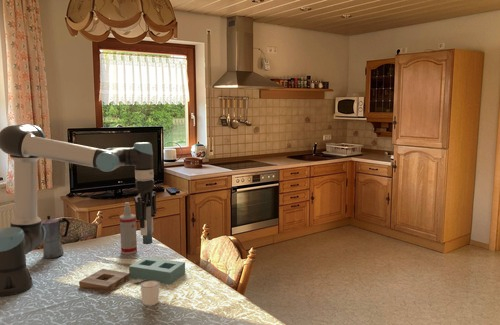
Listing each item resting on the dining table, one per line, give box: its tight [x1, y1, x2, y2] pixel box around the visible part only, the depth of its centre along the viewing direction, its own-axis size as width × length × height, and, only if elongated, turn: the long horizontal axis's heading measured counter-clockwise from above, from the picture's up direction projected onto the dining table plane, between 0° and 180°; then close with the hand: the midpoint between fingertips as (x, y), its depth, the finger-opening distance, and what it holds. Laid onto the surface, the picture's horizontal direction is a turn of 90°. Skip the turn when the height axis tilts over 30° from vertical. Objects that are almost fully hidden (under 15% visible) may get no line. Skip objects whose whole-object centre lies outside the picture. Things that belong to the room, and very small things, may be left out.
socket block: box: [78, 268, 131, 293], centre depth 173 cm, size 14×14×2 cm
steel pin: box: [142, 205, 153, 245], centre depth 179 cm, size 4×4×16 cm
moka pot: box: [41, 215, 71, 259], centre depth 204 cm, size 10×15×20 cm, turn 115°
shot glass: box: [140, 280, 160, 306], centre depth 156 cm, size 7×7×7 cm
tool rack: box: [128, 256, 186, 285], centre depth 180 cm, size 12×20×5 cm, turn 70°
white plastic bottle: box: [119, 201, 138, 255], centre depth 209 cm, size 8×8×25 cm
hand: (147, 233), depth 180 cm, fingers closed on steel pin, 4 cm apart
